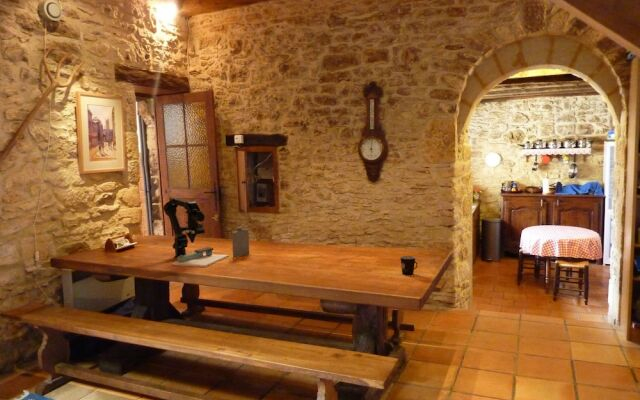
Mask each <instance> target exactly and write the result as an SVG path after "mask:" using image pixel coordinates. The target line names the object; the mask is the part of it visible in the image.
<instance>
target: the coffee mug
mask: <svg viewBox="0 0 640 400" xmlns="http://www.w3.org/2000/svg"><path fill="white" fill-rule="evenodd" d="M400 265H401V266H400V267H401V274H402V275H403V276H407V275H410V276H413V275H414V273H415V272H414V271H415V270H416V269H417V268H418V262H417V261H416V256H413V255H402V256H400Z"/></svg>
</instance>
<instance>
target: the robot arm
mask: <svg viewBox="0 0 640 400" xmlns="http://www.w3.org/2000/svg"><path fill="white" fill-rule="evenodd" d="M178 207H183V209H184V210H186V211H185V214H187V217H186V218H187V221H185V223H186V224H187V226H181V225H180V223H179V219H178V217H177V208H178ZM162 209H163V211H164V214H165V215H166V216H167V217H168V218H169V220H170V224H171V226H172V229H173V230H172V231H173V233H174V235H175V236H174V243H173V244H172V249H174V252H175V256H173V257H174V258H178V257H179V256H180V255H183V256H184V255H187V251H186V248H187V247H188V243H189V241H190V242H191V243H192V244H193V243H194V242H195V239H196V236H197V235H201V234H205V233H206V232H205V229H204V225H203V224H202V223H200V222H204V220H205V217H206V216H205V214H204V213H203V211H201V209H200V206H199V205H198V203H197V202H196V201H187V200H184V199H181V198H179V197H173V198H171V199H170V200H169V201H167V202H166V203H165V204H164V205H163V207H162ZM184 232H185V234H184Z"/></svg>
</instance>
